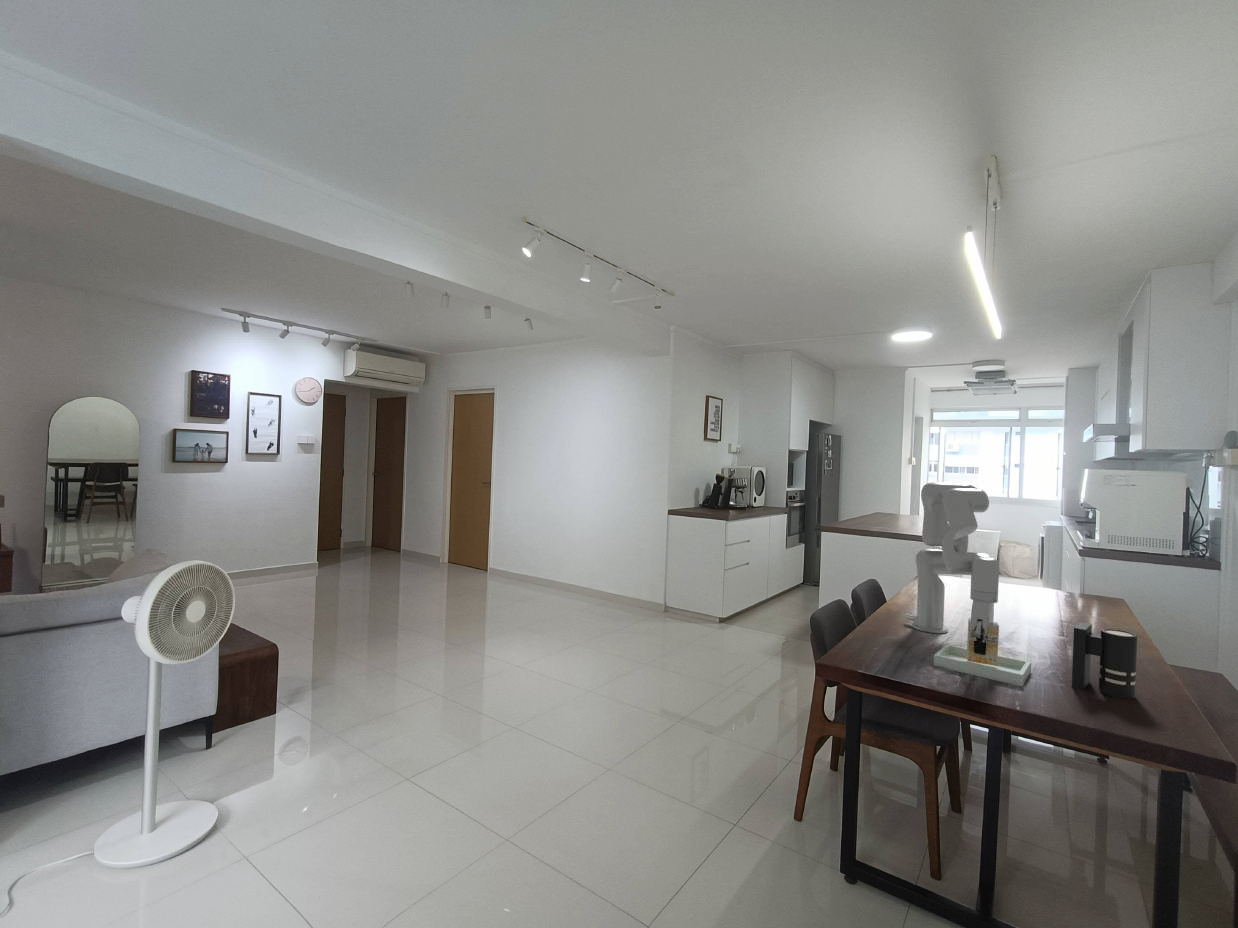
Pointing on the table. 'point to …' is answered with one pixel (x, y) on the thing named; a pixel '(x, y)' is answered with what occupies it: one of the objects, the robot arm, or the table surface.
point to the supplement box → (990, 645)
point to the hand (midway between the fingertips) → (982, 650)
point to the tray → (984, 666)
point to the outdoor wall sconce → (1105, 660)
